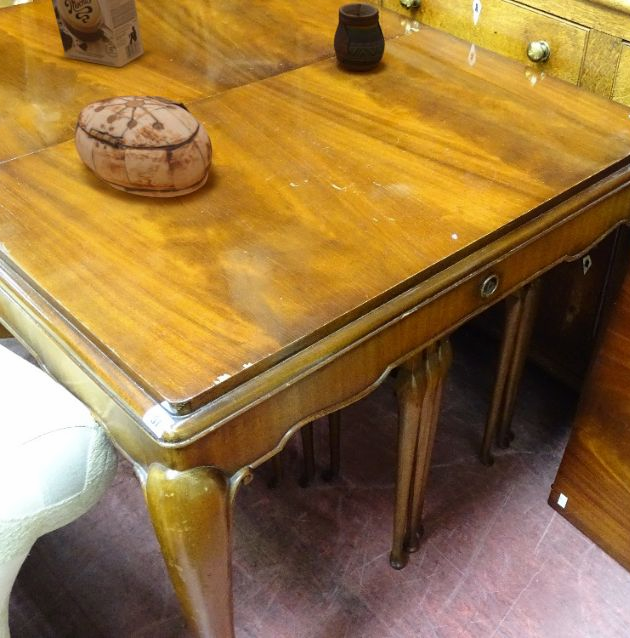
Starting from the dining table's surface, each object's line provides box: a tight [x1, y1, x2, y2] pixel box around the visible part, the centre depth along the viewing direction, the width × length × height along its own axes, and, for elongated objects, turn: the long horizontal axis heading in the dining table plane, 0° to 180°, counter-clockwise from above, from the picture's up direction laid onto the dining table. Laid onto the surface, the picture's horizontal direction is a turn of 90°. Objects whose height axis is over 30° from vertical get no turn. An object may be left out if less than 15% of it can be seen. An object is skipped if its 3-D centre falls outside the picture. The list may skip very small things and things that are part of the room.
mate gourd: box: [333, 2, 386, 72], centre depth 108 cm, size 7×8×10 cm
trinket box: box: [74, 95, 213, 198], centre depth 83 cm, size 13×15×8 cm
